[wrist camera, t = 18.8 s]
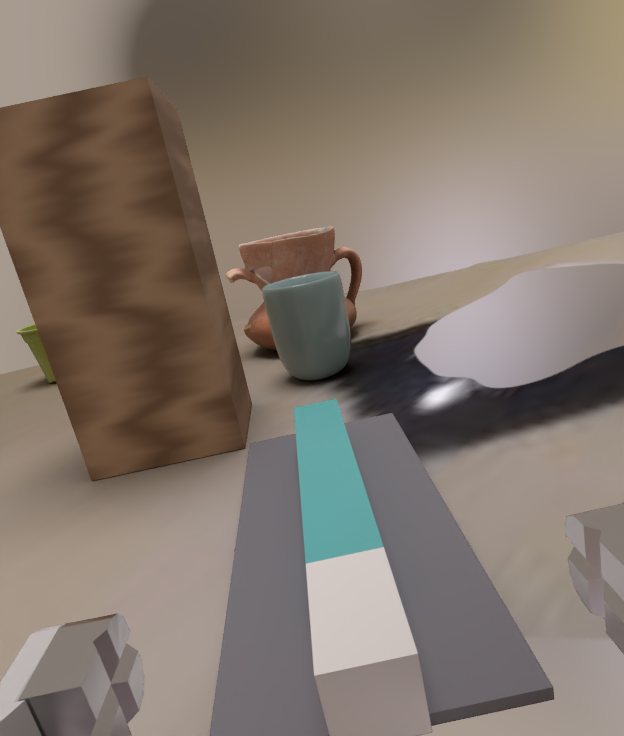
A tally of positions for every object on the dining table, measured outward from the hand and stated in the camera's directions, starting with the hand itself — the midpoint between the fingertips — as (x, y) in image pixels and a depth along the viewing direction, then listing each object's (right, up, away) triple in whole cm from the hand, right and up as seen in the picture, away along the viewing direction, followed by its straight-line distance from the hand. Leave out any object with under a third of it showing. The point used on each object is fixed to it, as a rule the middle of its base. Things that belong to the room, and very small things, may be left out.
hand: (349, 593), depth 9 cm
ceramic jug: (-1, +8, +60) cm, 61 cm away
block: (+1, -4, +17) cm, 17 cm away
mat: (+1, -4, +18) cm, 19 cm away
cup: (0, +3, +45) cm, 45 cm away
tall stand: (-12, -2, +35) cm, 37 cm away
